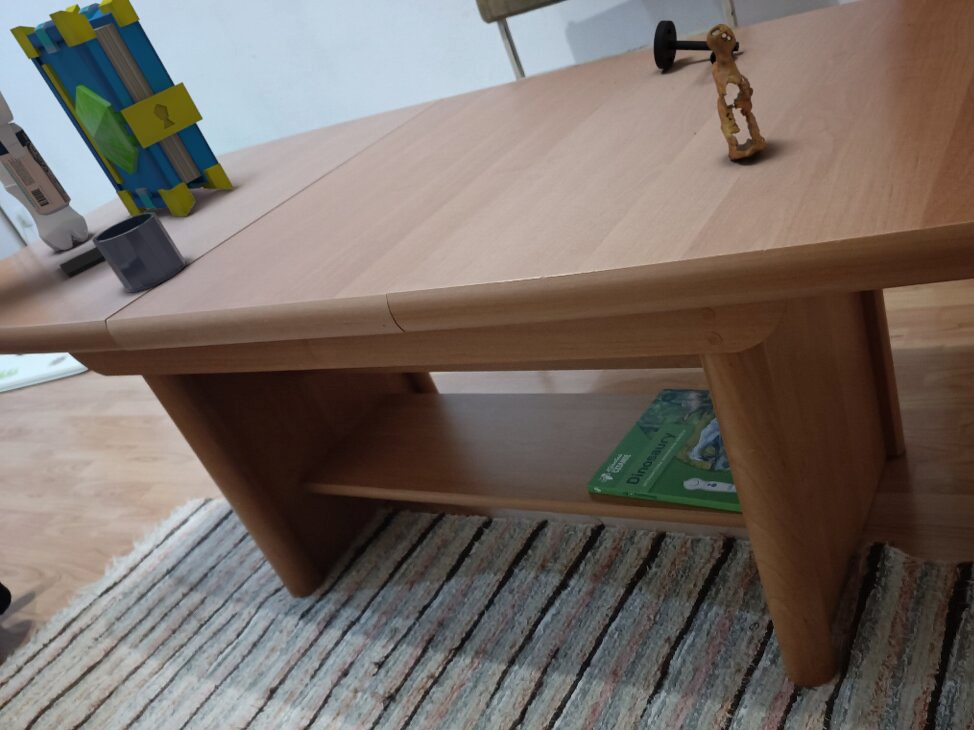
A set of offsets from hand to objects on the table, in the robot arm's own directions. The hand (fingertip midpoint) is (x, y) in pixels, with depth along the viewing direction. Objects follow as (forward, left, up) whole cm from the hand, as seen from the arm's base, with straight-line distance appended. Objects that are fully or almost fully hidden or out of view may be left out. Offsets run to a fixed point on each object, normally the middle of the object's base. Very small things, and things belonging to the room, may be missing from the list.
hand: (18, 155), depth 120 cm
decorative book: (+17, +9, -16) cm, 25 cm away
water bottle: (0, +17, -16) cm, 24 cm away
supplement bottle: (0, 0, -8) cm, 8 cm away
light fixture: (+71, -59, -16) cm, 93 cm away
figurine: (+50, -88, -16) cm, 103 cm away
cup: (+4, -26, -16) cm, 31 cm away
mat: (0, 0, -16) cm, 16 cm away
